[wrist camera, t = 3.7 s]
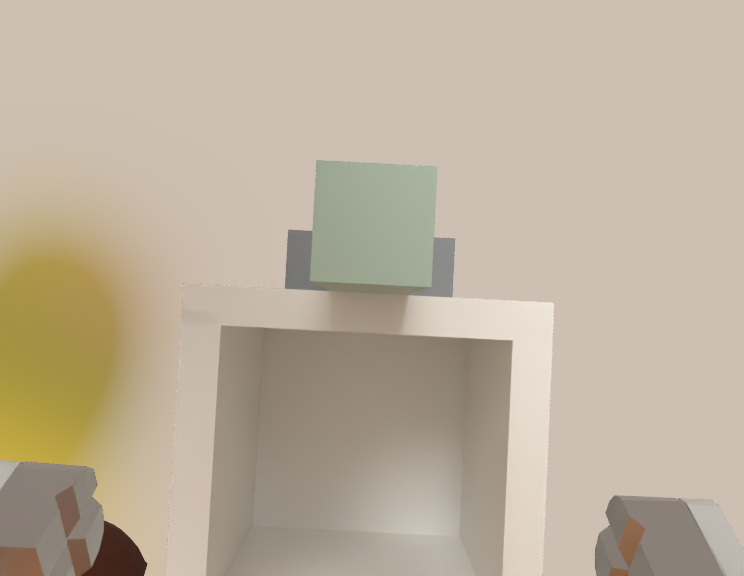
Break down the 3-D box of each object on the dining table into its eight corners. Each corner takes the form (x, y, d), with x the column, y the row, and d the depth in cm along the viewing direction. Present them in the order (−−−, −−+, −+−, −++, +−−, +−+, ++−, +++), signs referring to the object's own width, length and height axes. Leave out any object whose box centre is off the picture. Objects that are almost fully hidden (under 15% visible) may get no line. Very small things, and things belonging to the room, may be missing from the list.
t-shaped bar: (532, 292, 16) (537, 172, 16) (208, 275, 16) (215, 155, 16) (444, 301, 34) (447, 244, 34) (291, 293, 34) (295, 236, 34)
